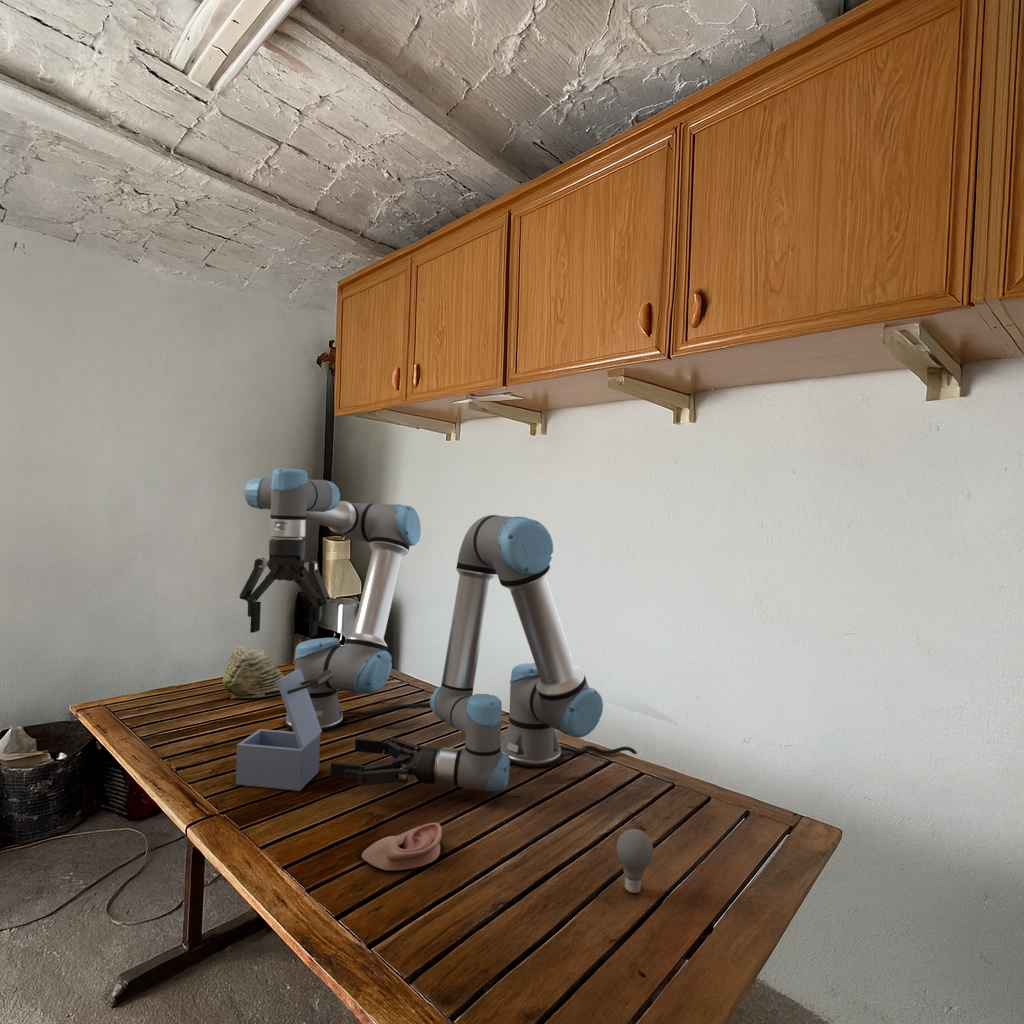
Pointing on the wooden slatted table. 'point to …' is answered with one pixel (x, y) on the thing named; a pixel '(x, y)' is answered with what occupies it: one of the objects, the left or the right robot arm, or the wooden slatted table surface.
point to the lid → (302, 704)
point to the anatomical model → (406, 849)
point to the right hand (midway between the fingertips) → (343, 756)
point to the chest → (276, 760)
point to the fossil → (251, 674)
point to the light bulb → (634, 857)
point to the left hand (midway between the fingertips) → (283, 633)
